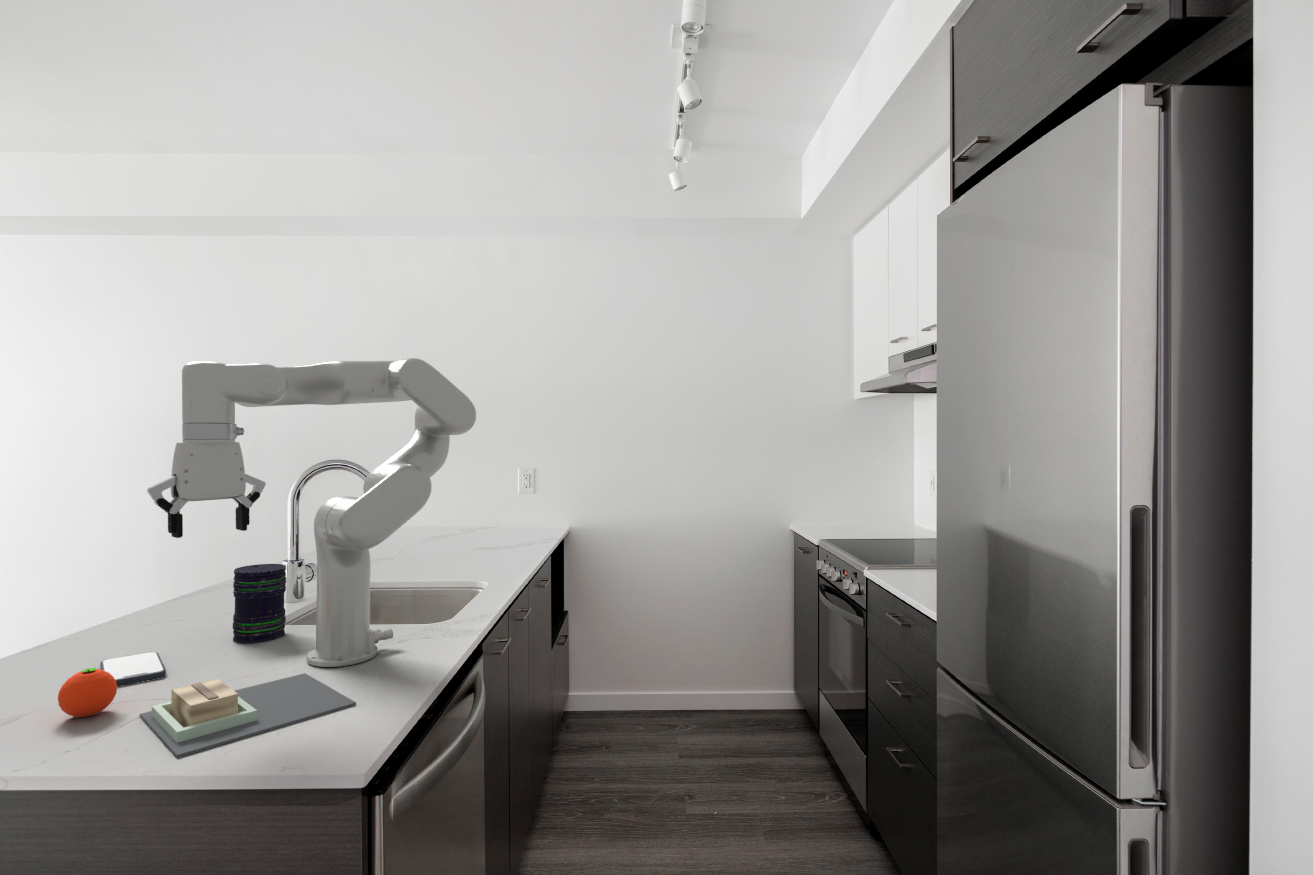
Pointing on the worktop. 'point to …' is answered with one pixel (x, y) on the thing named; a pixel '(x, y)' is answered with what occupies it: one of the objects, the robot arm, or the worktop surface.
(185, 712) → the wooden block
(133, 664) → the smartphone
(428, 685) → the worktop surface
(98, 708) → the clementine
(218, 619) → the worktop surface
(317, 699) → the rubber mat
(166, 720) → the tray frame
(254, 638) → the storage jar
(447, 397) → the robot arm
